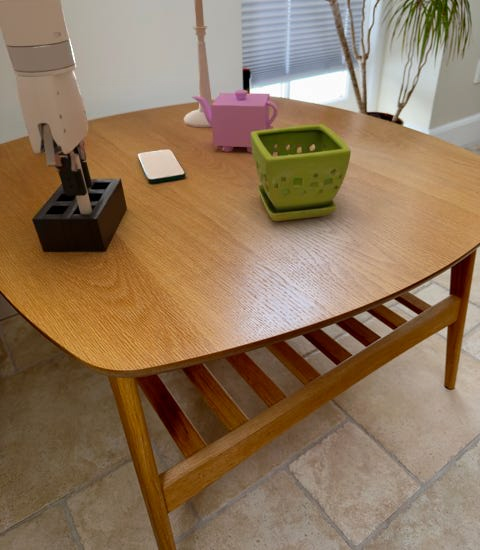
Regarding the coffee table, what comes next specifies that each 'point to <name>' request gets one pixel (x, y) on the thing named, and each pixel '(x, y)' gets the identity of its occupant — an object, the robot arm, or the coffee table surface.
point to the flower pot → (299, 170)
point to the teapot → (238, 117)
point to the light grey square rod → (84, 200)
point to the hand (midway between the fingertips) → (79, 190)
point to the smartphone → (161, 166)
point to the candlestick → (200, 71)
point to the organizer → (81, 219)
